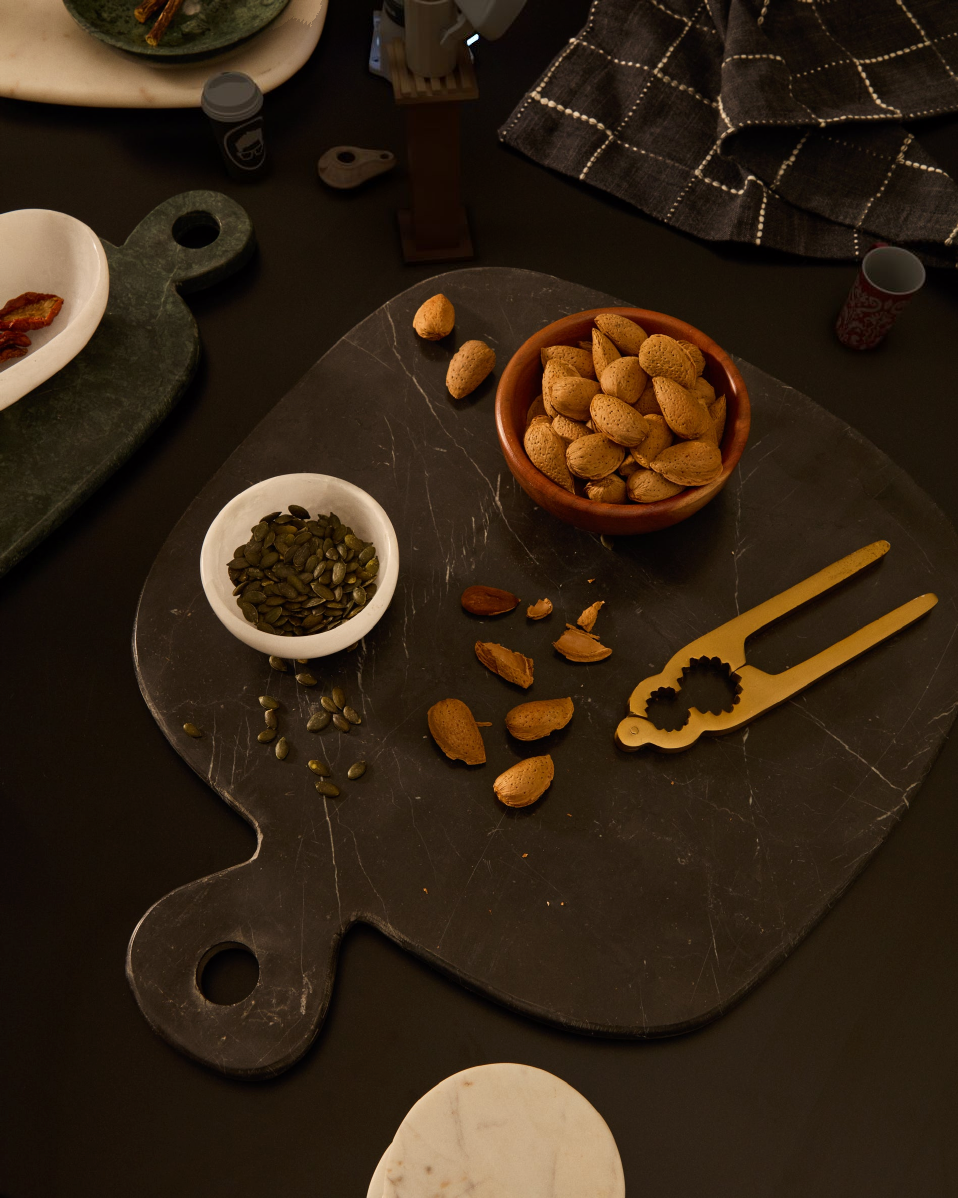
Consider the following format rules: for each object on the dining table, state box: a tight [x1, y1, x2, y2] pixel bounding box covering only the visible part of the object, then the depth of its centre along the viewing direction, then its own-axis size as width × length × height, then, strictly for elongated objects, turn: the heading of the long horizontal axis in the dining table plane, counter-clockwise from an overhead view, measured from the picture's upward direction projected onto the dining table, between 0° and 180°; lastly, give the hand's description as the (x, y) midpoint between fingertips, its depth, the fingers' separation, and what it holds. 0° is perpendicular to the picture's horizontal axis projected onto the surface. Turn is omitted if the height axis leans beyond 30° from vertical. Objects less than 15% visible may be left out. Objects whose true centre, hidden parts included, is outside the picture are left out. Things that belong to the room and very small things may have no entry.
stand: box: [396, 100, 475, 267], centre depth 144 cm, size 11×11×30 cm
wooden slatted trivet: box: [386, 37, 479, 106], centre depth 130 cm, size 11×11×2 cm
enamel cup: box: [403, 0, 459, 78], centre depth 125 cm, size 7×7×10 cm
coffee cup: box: [200, 70, 269, 184], centre depth 156 cm, size 10×10×15 cm
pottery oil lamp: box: [317, 145, 397, 190], centre depth 160 cm, size 9×12×7 cm
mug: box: [834, 241, 927, 351], centre depth 146 cm, size 13×9×14 cm
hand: (426, 23), depth 124 cm, fingers open, 8 cm apart
